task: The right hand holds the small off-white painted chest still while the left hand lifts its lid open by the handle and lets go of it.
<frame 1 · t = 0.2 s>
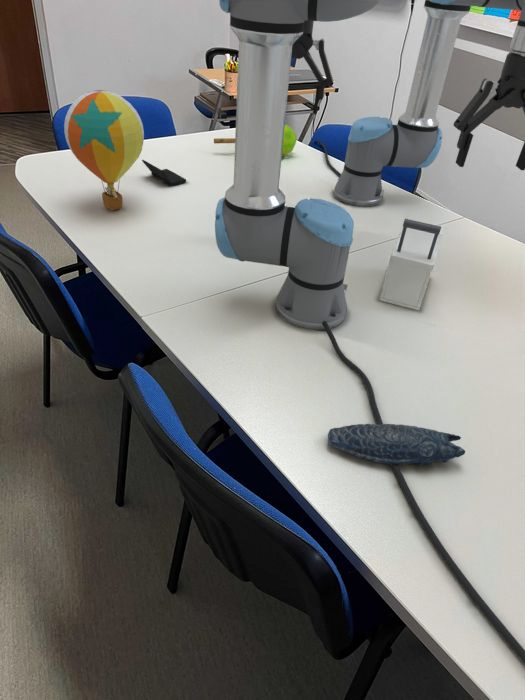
left hand: (288, 109, 135), 28 cm above the table, tool pointing down, fingers open, 13 cm apart
right hand: (489, 166, 111), 28 cm above the table, tool pointing down, fingers open, 13 cm apart
decorative tree: (254, 155, 189), on the table
fish model: (391, 451, 83), on the table
toy: (113, 208, 145), on the table
chest: (404, 289, 123), on the table
black block with spike: (164, 180, 164), on the table
pill bottle: (230, 242, 135), on the table
lid: (421, 231, 113), point 15 cm above the table, hinge at 0.0°
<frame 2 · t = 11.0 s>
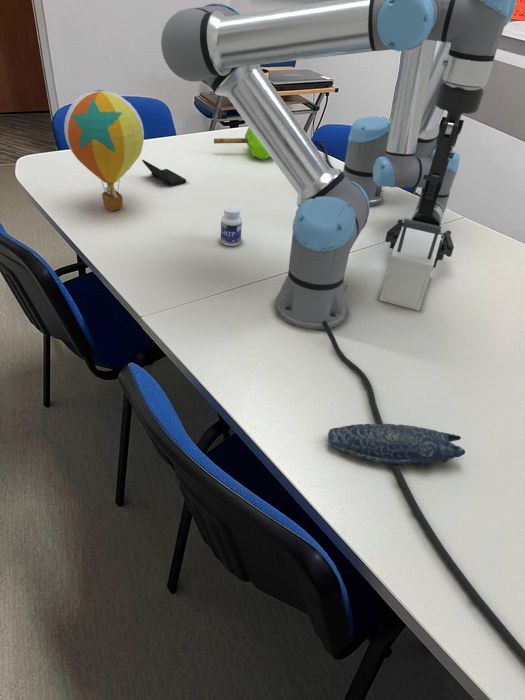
left hand: (429, 201, 104), 24 cm above the table, tool pointing down, fingers open, 13 cm apart
right hand: (414, 257, 122), 6 cm above the table, tool horizontal, fingers closed on chest, 9 cm apart
chest: (404, 289, 123), on the table, touching right hand
everything else where it was.
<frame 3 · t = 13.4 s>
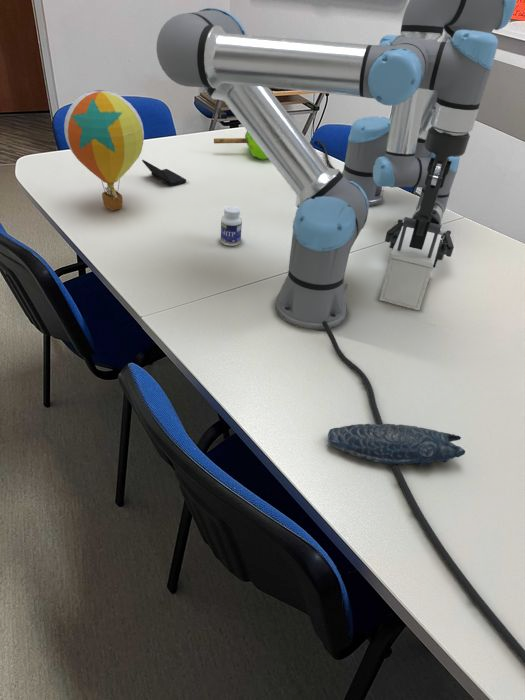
left hand: (416, 245, 110), 14 cm above the table, tool pointing down, fingers closed on lid, 2 cm apart
right hand: (413, 257, 122), 6 cm above the table, tool horizontal, fingers closed on chest, 9 cm apart
chest: (404, 289, 123), on the table, touching right hand
lid: (421, 230, 113), point 15 cm above the table, hinge at 1.1°, touching left hand
everything else where it was.
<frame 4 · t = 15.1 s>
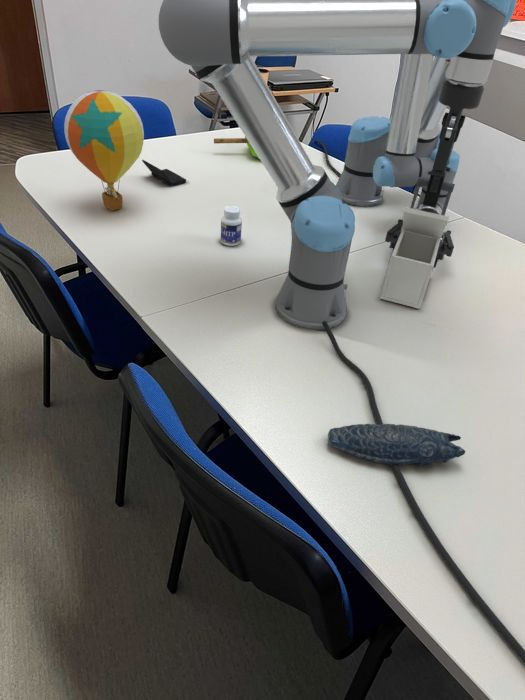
left hand: (430, 203, 111), 21 cm above the table, tool pointing down, fingers closed on lid, 2 cm apart
right hand: (414, 257, 122), 6 cm above the table, tool horizontal, fingers closed on chest, 9 cm apart
chest: (404, 288, 123), on the table, touching right hand
lid: (428, 207, 114), point 19 cm above the table, hinge at 34.5°, touching left hand
everything else where it was.
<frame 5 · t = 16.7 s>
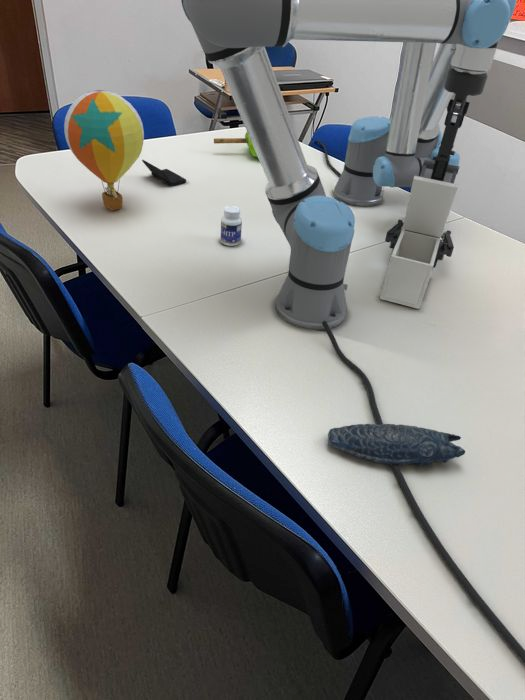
left hand: (434, 187, 116), 22 cm above the table, tool pointing down, fingers open, 3 cm apart
right hand: (414, 257, 122), 6 cm above the table, tool horizontal, fingers closed on chest, 9 cm apart
chest: (404, 288, 123), on the table, touching right hand
lid: (432, 196, 116), point 20 cm above the table, hinge at 62.1°
everything else where it was.
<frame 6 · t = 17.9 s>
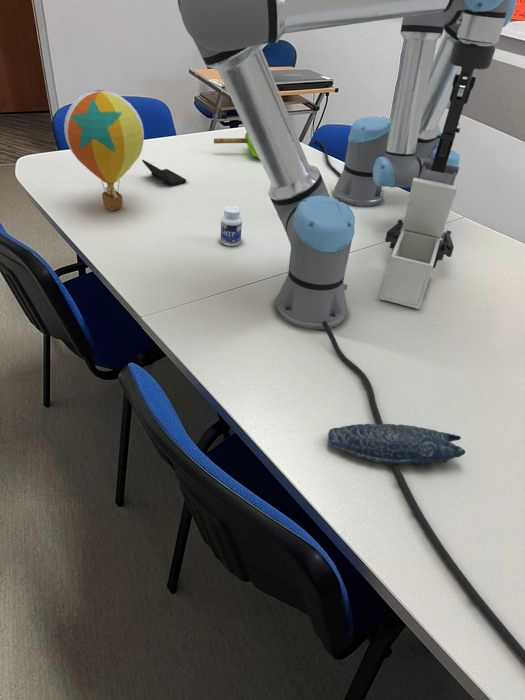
left hand: (438, 167, 111), 27 cm above the table, tool pointing down, fingers open, 5 cm apart
right hand: (414, 257, 122), 6 cm above the table, tool horizontal, fingers closed on chest, 9 cm apart
chest: (404, 288, 123), on the table, touching right hand
lid: (431, 196, 116), point 20 cm above the table, hinge at 60.2°, touching left hand
everything else where it was.
when the right hand's fingers open (6 cm above the table, at t = 20.7 s): chest stays where it is, on the table.
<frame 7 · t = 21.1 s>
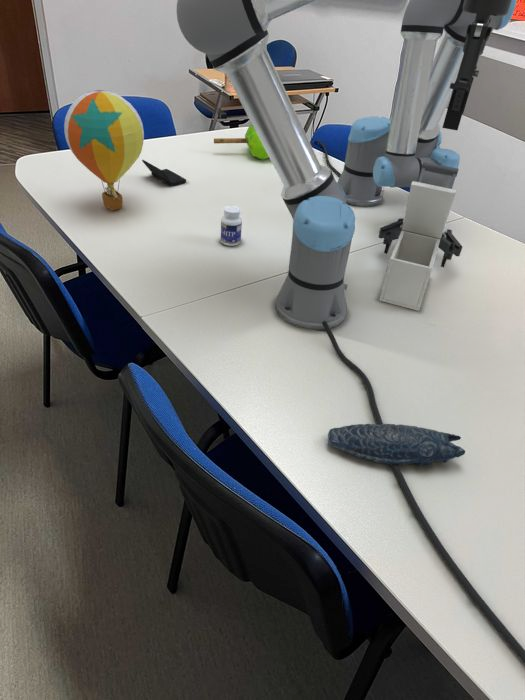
left hand: (453, 120, 100), 38 cm above the table, tool pointing down, fingers open, 13 cm apart
right hand: (414, 255, 123), 7 cm above the table, tool horizontal, fingers open, 13 cm apart
chest: (404, 289, 123), on the table
lid: (431, 198, 115), point 20 cm above the table, hinge at 58.9°
everything else where it was.
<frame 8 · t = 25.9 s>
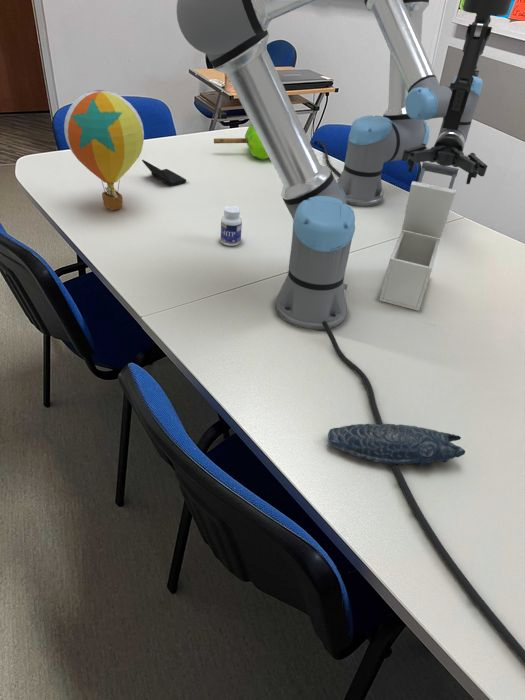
left hand: (453, 120, 100), 38 cm above the table, tool pointing down, fingers open, 13 cm apart
right hand: (439, 172, 122), 22 cm above the table, tool horizontal, fingers open, 13 cm apart
nothing on the table moved.
at the end: lid at +59° (first picture: +0°); the left hand is holding nothing; the right hand is holding nothing; chest tilted 0°; chest never tilted more than 2° during the clip; chest moved 0.2 cm from its start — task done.
